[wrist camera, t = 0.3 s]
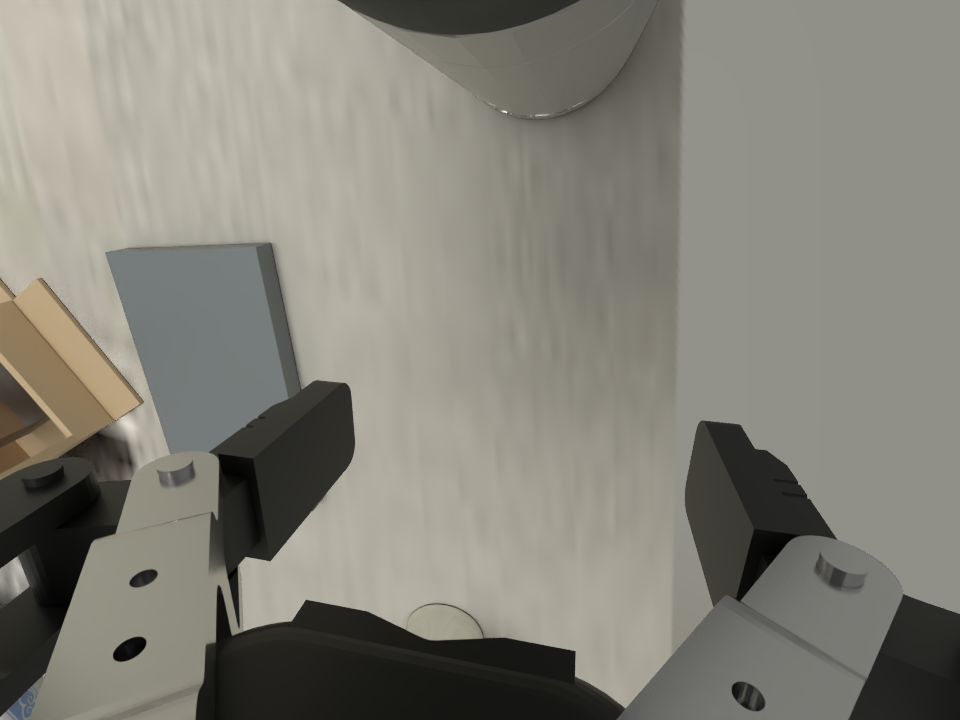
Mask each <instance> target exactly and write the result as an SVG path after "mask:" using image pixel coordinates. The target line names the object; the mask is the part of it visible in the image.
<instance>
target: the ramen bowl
mask: <svg viewBox="0 0 960 720" xmlns="http://www.w3.org/2000/svg"><path fill="white" fill-rule="evenodd" d="M42 682H43V677H41V678H40V679H39V680H38V681H37V682H36V683H35V684H34V685H33V686H32V687H31V688H30V689H29V690H27V691H26V692H25V693H24V694H23V695H22V696H21V697H20V698H19V699H18V700H17V701H16V702H15V703H14V704H13V705H12V706H11V707H10V708H9V709H8V710H7V711H6V712H5V713H4V714H3V715H2V716H1V717H0V720H29V719H30V716H31V713H32V711H33V708H34V705H35V702H36V699H37V696H38V694H39V691H40V688H41V685H42Z"/></svg>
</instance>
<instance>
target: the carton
mask: <svg viewBox="0 0 960 720" xmlns="http://www.w3.org/2000/svg"><path fill="white" fill-rule="evenodd" d="M0 362H1V363H2V365H3V366H4V367H5V368H6V369H7V370H8V371H9V372H10V374H11V375H12V376H13V377H14V378H15V379H16V380H17V381H18V383H19V384H20V385H21V386H22V387H23V388H24V389H25V390H26V392H27V393H28V394H29V395H30V396H31V397H32V398H33V400H34V401H35V402H36V403H37V404H38V405H39V406H40V407H41V409H42V410H43V411H44V412H45V413H46V414H47V415H48V416H49V418H50V420H48V421H47V422H45V423H44V424H43V425H41V426H40V427H38V428H37V429H35V430H34V431H33V432H31V433H29V434H27V435H25V436H23V437H21V438H19V439H17V440H15V441H13V442H11V443H9V444H7V445H5V446H3V447H1V448H0V480H1V479H3V478H5V477H7V476H8V475H10V474H12V473H14V472H16V471H18V470H21V469H23V468H25V467H28V466H31V465H34V464H37V463H40V462H44V461H48V460H52V459H57V458H59V457H60V456H62V455H63V454H65V453H66V452H68V451H69V450H71V449H72V448H74V447H75V446H77V445H78V444H80V443H82V442H83V441H85V440H86V439H88V438H89V437H91V436H92V435H94V434H95V433H97V432H98V431H100V430H101V429H103V428H104V427H106V426H108V425H109V424H111V423H112V422H114V421H115V420H117V419H118V418H120V417H121V416H123V415H124V414H126V413H127V412H129V411H131V410H132V409H134V408H135V407H137V406H138V405H140V404H141V403H143V401H142V400H141V398H140V397H139V396H138V395H137V393H136V392H135V391H134V390H133V389H132V387H131V386H130V385H129V384H128V383H127V381H126V380H125V379H124V378H123V377H122V375H121V374H120V373H119V372H118V370H117V369H116V368H115V367H114V366H113V364H112V363H111V362H110V361H109V360H108V358H107V357H106V356H105V355H104V354H103V352H102V351H101V350H100V349H99V347H98V346H97V345H96V344H95V343H94V341H93V340H92V339H91V338H90V337H89V335H88V334H87V333H86V332H85V330H84V329H83V328H82V327H81V326H80V324H79V323H78V322H77V321H76V320H75V318H74V317H73V316H72V315H71V314H70V312H69V311H68V310H67V309H66V307H65V306H64V305H63V304H62V303H61V301H60V300H59V299H58V298H57V297H56V295H55V294H54V293H53V292H52V291H51V289H50V288H49V287H48V286H47V284H46V283H45V282H44V281H43V280H42V278H39V279H36V280H35V281H34V282H33V283H32V284H30V285H29V286H28V287H27V288H26V289H25V290H24V291H23V292H21V293H20V294H19V295H18V296H17V297H15V296H14V295H13V294H12V293H11V291H10V290H9V289H8V288H7V287H6V286H5V284H4V283H3V282H2V281H1V280H0Z"/></svg>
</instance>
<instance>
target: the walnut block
mask: <svg viewBox="0 0 960 720" xmlns="http://www.w3.org/2000/svg"><path fill="white" fill-rule="evenodd" d="M48 420H50V418H49V416H48V415H47V414H46V413H45V412H44V411H43V410H42V409H41V407H40V406H39V405H38V404H37V403H36V402H35V401H34V400H33V398H32V397H31V396H30V395H29V394H28V393H27V392H26V390H25V389H24V388H23V387H22V386H21V385H20V384H19V383H18V381H17V380H16V379H15V378H14V377H13V376H12V375H11V374H10V372H9V371H8V370H7V369H6V368H5V367H4V366H3V365H2V363H1V362H0V448H1V447H3V446H5V445H7V444H9V443H11V442H13V441H15V440H17V439H19V438H21V437H23V436H25V435H27V434H29V433H31V432H33V431H34V430H35V429H37V428H38V427H40V426H41V425H43V424H44V423H45V422H47V421H48Z"/></svg>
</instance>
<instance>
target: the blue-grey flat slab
mask: <svg viewBox="0 0 960 720" xmlns="http://www.w3.org/2000/svg"><path fill="white" fill-rule="evenodd" d="M105 253H106V256H107V260H108V263H109V266H110V269H111V272H112V275H113V278H114V281H115V284H116V287H117V290H118V293H119V297H120V300H121V303H122V306H123V309H124V312H125V315H126V318H127V321H128V324H129V327H130V331H131V334H132V337H133V340H134V343H135V346H136V349H137V352H138V355H139V358H140V361H141V365H142V368H143V371H144V374H145V377H146V380H147V383H148V386H149V389H150V392H151V395H152V399H153V402H154V405H155V408H156V411H157V414H158V417H159V420H160V423H161V426H162V429H163V432H164V436H165V439H166V442H167V445H168V448H169V451H170V454H176V453H180V452H187V451H203V452H210V451H211V450H212V449H214V448H215V447H217V446H218V445H219V444H221V443H222V442H223V441H225V440H226V439H227V438H229V437H230V436H232V435H233V434H234V433H236V432H237V431H238V430H240V429H241V428H242V427H246V425H247V424H248V423H249V422H251V421H252V420H253V419H255V418H257V419H258V416H259V415H260V414H262V413H263V412H264V411H266V410H267V409H268V408H270V407H271V406H273V405H275V404H277V403H280V402H282V401H285V400H287V399H290V398H292V397H293V396H295V395H296V394H297V393H299V392H300V391H301V389H300V384H299V379H298V374H297V369H296V364H295V360H294V355H293V350H292V345H291V340H290V335H289V330H288V325H287V321H286V316H285V311H284V306H283V301H282V296H281V291H280V286H279V282H278V277H277V272H276V267H275V262H274V257H273V252H272V247H271V243H256V244H230V245H205V246H179V247H154V248H128V249H121V250H116V251H110V252H105ZM321 500H322V499H321ZM321 500H320V501H321ZM320 501H319V502H320ZM318 504H319V503H318ZM318 504H317V505H318ZM317 505H316V506H317ZM316 506H315V507H314V509H315V508H316ZM314 509H313V510H314ZM313 510H312V511H313Z"/></svg>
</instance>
